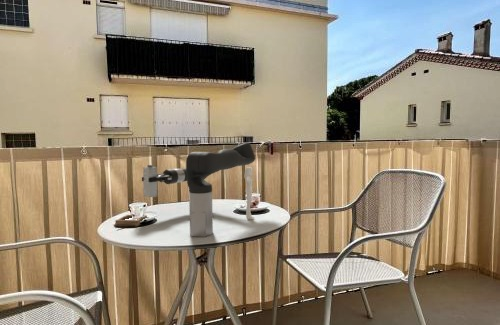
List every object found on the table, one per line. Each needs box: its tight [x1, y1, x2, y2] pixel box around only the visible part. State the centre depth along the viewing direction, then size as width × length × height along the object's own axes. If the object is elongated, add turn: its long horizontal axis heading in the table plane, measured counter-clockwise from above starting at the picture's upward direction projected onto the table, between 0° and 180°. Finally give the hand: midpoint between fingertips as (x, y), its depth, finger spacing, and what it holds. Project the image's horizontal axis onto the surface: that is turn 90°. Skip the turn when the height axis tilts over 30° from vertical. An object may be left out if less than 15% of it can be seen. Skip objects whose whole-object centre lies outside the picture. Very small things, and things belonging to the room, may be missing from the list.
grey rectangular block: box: [142, 164, 158, 198], centre depth 150 cm, size 4×4×15 cm
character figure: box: [243, 166, 255, 220], centre depth 148 cm, size 24×5×25 cm, turn 0°
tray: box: [114, 214, 148, 227], centre depth 142 cm, size 10×10×2 cm
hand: (145, 179), depth 148 cm, fingers closed on grey rectangular block, 4 cm apart
